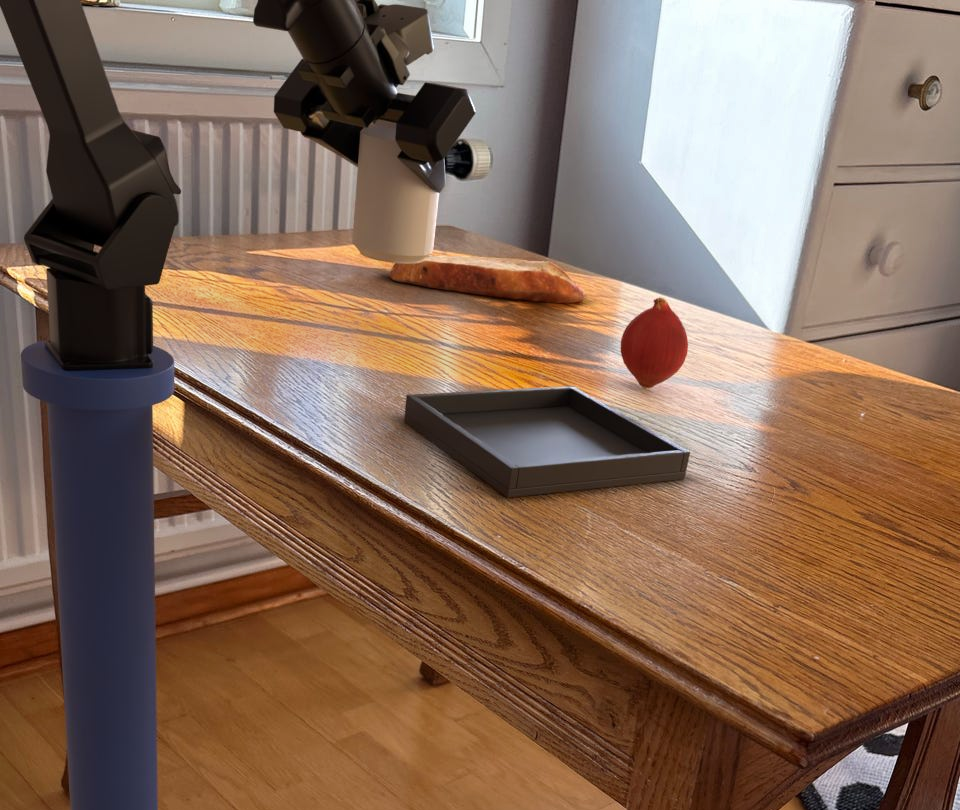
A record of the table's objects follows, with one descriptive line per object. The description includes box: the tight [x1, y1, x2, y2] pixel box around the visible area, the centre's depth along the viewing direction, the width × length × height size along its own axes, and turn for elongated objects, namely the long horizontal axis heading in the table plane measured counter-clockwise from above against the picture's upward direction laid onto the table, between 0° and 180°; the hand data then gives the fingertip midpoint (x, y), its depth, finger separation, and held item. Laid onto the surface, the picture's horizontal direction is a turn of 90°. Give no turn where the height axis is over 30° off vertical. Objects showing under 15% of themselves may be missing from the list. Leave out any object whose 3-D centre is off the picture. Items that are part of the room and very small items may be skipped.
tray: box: [403, 385, 691, 499], centre depth 86 cm, size 15×15×2 cm
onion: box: [620, 296, 689, 390], centre depth 103 cm, size 6×6×8 cm
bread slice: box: [388, 255, 586, 304], centre depth 131 cm, size 18×18×4 cm
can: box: [351, 119, 440, 264], centre depth 106 cm, size 8×8×12 cm
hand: (408, 180), depth 106 cm, fingers closed on can, 7 cm apart
